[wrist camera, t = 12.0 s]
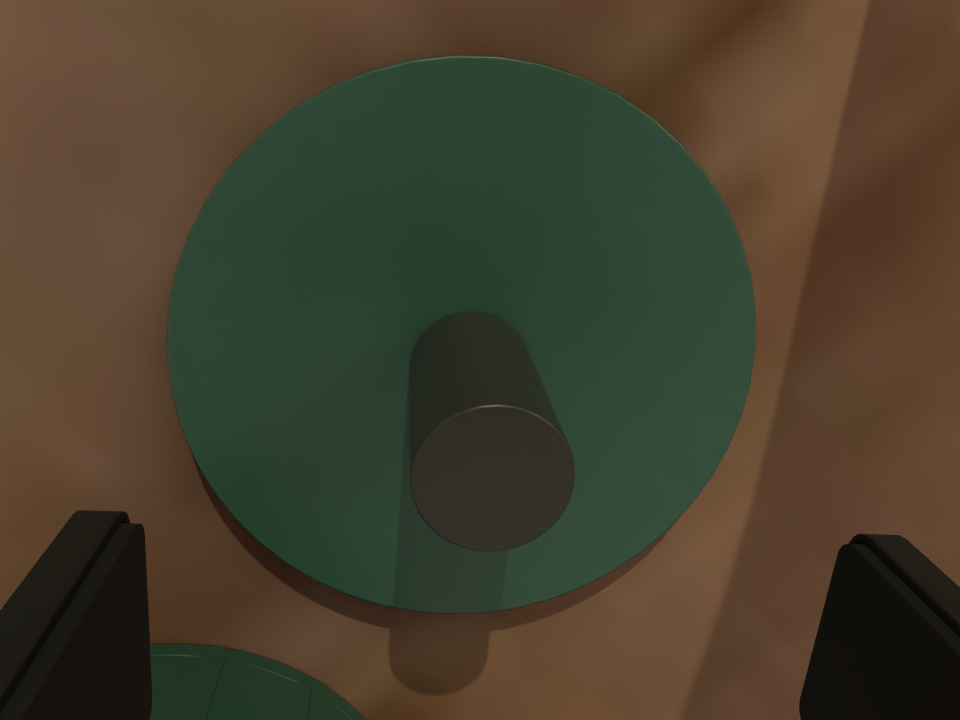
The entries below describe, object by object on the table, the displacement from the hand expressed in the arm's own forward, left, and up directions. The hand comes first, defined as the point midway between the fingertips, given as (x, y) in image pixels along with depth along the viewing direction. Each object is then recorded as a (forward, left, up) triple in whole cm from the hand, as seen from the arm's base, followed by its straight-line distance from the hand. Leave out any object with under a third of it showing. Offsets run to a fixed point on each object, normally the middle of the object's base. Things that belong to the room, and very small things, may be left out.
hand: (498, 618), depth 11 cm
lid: (0, 0, -9) cm, 9 cm away
